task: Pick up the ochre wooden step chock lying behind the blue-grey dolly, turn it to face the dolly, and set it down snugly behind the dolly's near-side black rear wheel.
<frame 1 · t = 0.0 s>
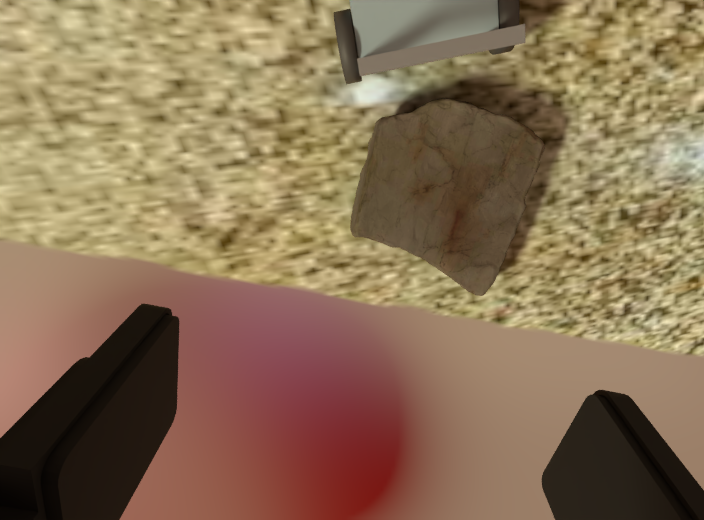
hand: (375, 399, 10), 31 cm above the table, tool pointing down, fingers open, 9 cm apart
marble piece: (435, 193, 40), on the table
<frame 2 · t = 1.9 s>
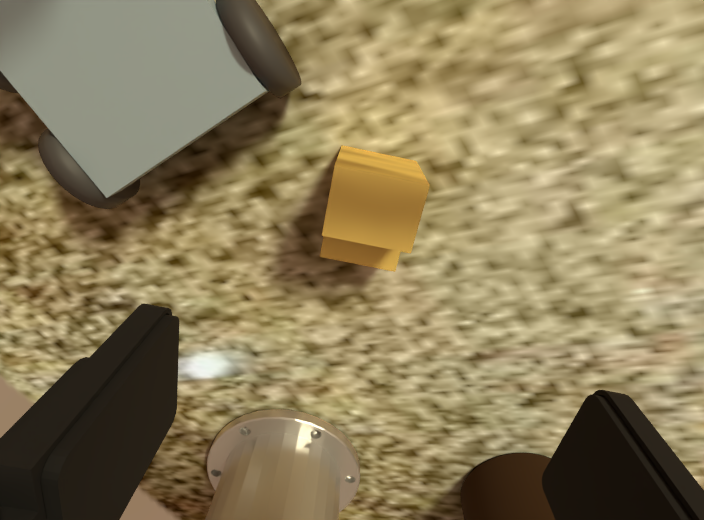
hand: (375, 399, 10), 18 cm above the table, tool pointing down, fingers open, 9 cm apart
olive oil: (514, 489, 36), on the table
wheel chock: (368, 201, 26), on the table
trolley: (149, 44, 23), on the table
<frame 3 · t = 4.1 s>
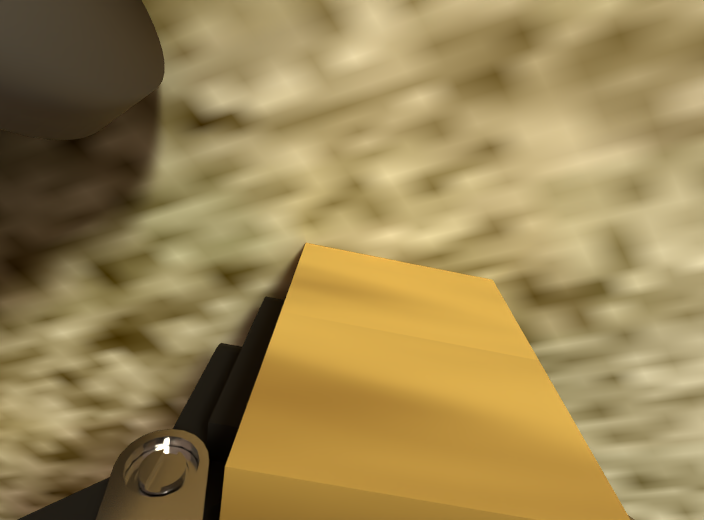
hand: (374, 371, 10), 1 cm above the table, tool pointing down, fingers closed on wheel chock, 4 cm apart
wheel chock: (372, 361, 11), on the table, touching gripper
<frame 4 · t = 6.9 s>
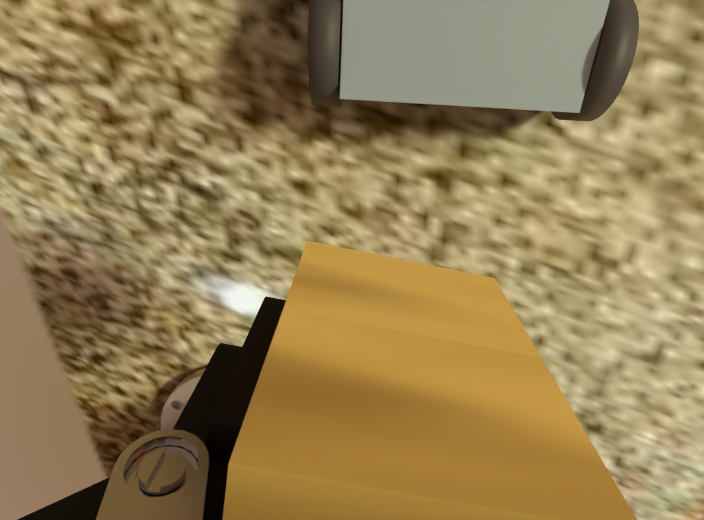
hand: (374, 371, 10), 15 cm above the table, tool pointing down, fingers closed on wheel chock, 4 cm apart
wheel chock: (373, 360, 11), point 15 cm above the table, touching gripper
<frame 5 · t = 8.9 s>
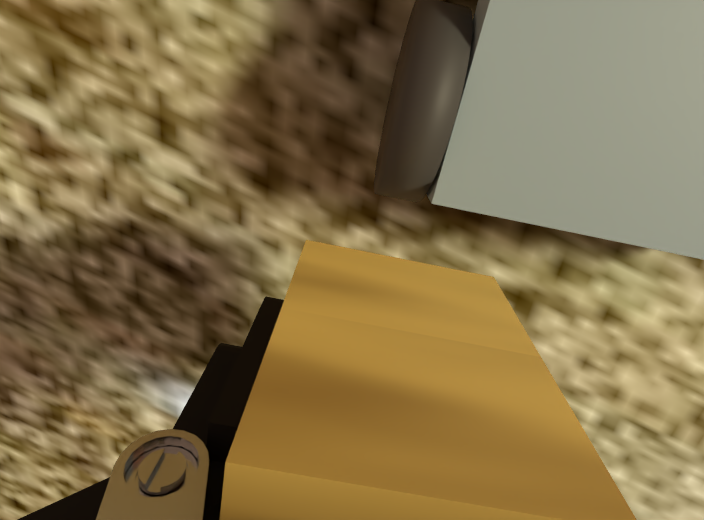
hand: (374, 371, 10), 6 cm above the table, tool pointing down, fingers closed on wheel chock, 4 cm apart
wheel chock: (373, 359, 11), point 6 cm above the table, touching gripper
trolley: (620, 20, 13), on the table
when the fingers open (2 cm above the table, at t = 10.2 s): wheel chock stays where it is, on the table.
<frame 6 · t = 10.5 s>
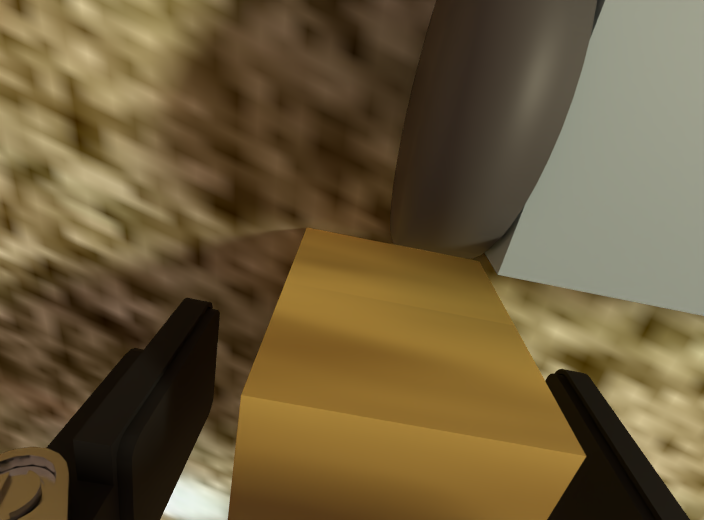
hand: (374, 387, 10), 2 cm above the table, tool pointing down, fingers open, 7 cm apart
wheel chock: (369, 338, 12), on the table
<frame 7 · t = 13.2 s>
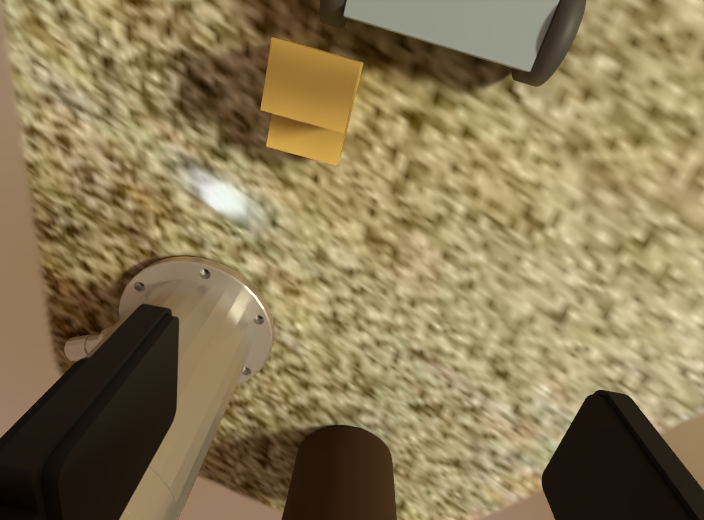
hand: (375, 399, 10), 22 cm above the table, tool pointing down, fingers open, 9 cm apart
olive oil: (343, 457, 42), on the table
wheel chock: (318, 101, 27), on the table
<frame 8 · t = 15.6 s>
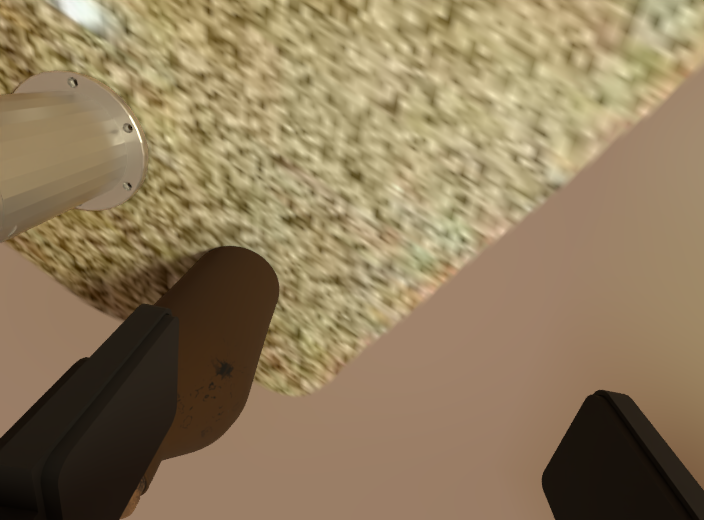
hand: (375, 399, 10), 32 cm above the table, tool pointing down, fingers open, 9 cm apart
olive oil: (236, 284, 46), on the table
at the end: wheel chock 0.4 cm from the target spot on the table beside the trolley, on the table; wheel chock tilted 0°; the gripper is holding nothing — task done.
